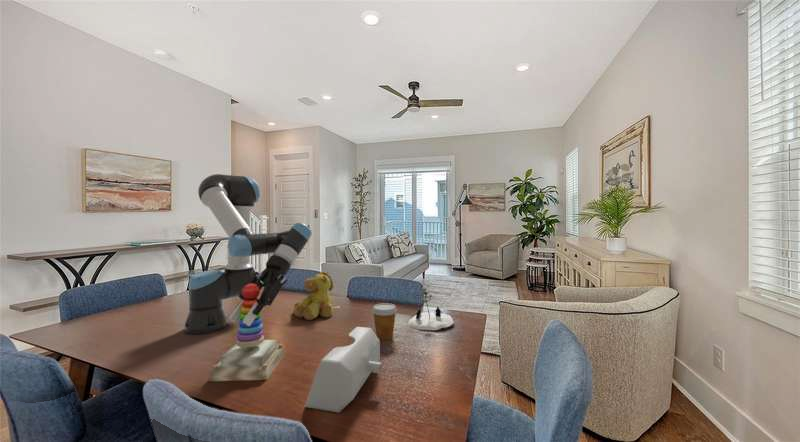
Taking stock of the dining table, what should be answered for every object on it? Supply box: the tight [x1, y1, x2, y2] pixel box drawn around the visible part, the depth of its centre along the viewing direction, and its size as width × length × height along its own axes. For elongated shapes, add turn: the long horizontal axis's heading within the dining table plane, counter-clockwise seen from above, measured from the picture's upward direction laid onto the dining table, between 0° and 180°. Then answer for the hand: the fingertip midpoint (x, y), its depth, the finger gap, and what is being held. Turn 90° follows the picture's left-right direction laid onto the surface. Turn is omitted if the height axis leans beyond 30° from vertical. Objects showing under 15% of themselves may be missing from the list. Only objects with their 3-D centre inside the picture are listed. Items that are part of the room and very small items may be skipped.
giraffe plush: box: [293, 271, 341, 321], centre depth 151 cm, size 20×24×19 cm
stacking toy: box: [235, 284, 265, 348], centre depth 97 cm, size 8×8×19 cm
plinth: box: [209, 339, 286, 382], centre depth 97 cm, size 16×16×6 cm
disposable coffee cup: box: [371, 302, 398, 341], centre depth 120 cm, size 10×10×12 cm
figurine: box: [408, 287, 454, 331], centre depth 135 cm, size 20×18×16 cm
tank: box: [304, 326, 383, 413], centre depth 86 cm, size 25×16×12 cm, turn 166°
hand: (239, 322), depth 94 cm, fingers closed on stacking toy, 5 cm apart
